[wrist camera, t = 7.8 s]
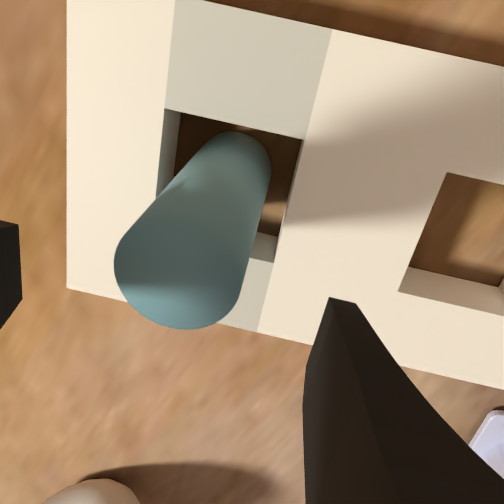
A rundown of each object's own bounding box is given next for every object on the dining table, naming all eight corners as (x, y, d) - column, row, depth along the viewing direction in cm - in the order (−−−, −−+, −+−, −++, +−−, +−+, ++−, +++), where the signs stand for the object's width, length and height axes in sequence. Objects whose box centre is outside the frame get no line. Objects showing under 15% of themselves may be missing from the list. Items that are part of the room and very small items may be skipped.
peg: (279, 141, 18) (253, 233, 10) (262, 212, 20) (228, 341, 12) (202, 123, 18) (117, 201, 10) (191, 196, 20) (110, 313, 12)
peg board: (702, 110, 16) (765, 125, 14) (537, 364, 22) (563, 403, 19) (100, -23, 16) (66, -30, 14) (91, 261, 22) (66, 287, 20)
